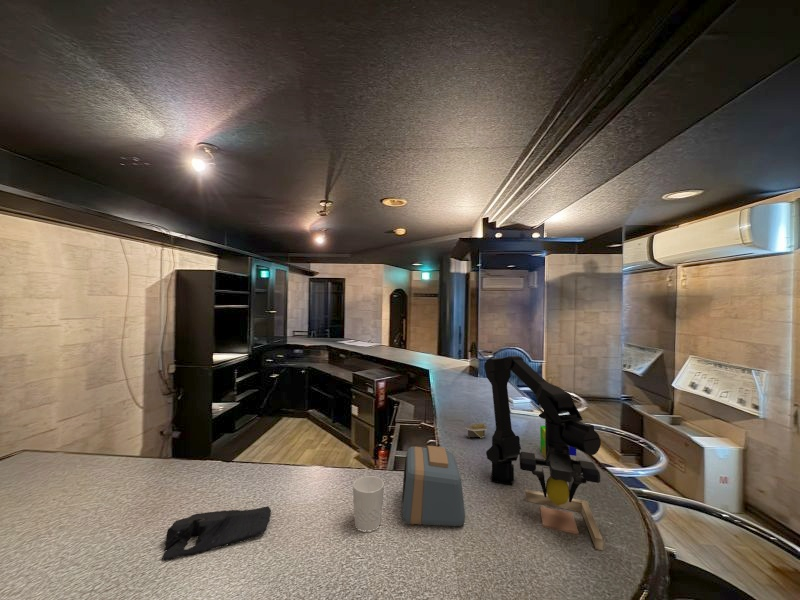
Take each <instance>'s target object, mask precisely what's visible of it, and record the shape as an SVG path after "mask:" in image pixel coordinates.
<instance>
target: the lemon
mask: <svg viewBox="0 0 800 600" xmlns="http://www.w3.org/2000/svg"><path fill="white" fill-rule="evenodd" d="M545 486H546V493H547V495H548V497H549V499H550V500H551V501H552V502H554V503H555V504H556V505H557V506H559V505H562V504H565V503H566V502H567V501H568V498H569V483H568V482H566V481H563V480H554V479H552V478H551V476H550V475H549V476H548V478H547V480H546V482H545Z"/></svg>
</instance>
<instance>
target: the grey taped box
mask: <svg viewBox="0 0 800 600" xmlns="http://www.w3.org/2000/svg"><path fill="white" fill-rule="evenodd" d="M402 484H403V485H402V506H401V507H402V509H401V510H402V511H401V515H402V520H403V522H405V524H407V523H409V524H408V525H414V524H420V525H421V524H424V525H423V526H440V525H442V526H443V527H444V526H445V527H461V526H462V525H464V523H465V520H466V511H465V501H464V494H463V484H462V478H461V473H460V469H459V467H458V464H457V460H456V458H455V455H454V454H453V453H452V452H451V451H450V450H446V449H445V447H444V446H435V445H427V447H420V446H410V447H409V448H407V452H406V455H405V461H404V470H403V483H402Z"/></svg>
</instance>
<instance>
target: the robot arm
mask: <svg viewBox="0 0 800 600" xmlns="http://www.w3.org/2000/svg"><path fill="white" fill-rule="evenodd" d="M484 372H485V376H486V378H487V380H488V381H489V383H490V384H491V389H492V390H491V391H492V400H493V411H494V421H495V422H494V423H495V430H494V433H493V435H492V438H491V447H489V448H488V449H487V450H486V451H485V453H486V459H487V460H488V461H490V462H491V478H490V480H491V482H493V483H499V484H504V485H510V486H512V485H513V482H514V481H515V478H514V477H515V476H514V475H515V470H514V469H515V468H514V467H515V466H514V464H513V463H512V462H514V461H517V460H518V457H519V468H520V470H521V471H526V472H531V474H533V475H534V476H536V478H537V479H538V481H539V483H540V487H541V489H542V493H544V496H545V497H546V493H547V492H546V479H545V478H546V477H545V473H544V468H545V469H548V470H549V474H550V475H549V477H550V476H551V478H552V479H554V480H563V481H566V482H567V483H568V487H569V502H571V501H572V499H574V496H575V494H576V491H577V489H578V487H579V486H580V485H582V484H587V482H591V483H597V484H599V483H601V474H600V470H599V469H598V467H597V465H596V464H595V463H594V462H592V461H586V460H579V459H578V460H577V459H576V460H573V459H571V458H570V455H569V446H571V447H573V448H575V449H576V450H578V451H579V452H582V453H584V454H586V455H589V456H594V455H596V454H597V453H598V452H599V451H600V448H601V443H602V439H601V438H600V435H599V433H598V431H596V430H595V426H594V424H590V423H587V422H583V417H582V415H581V413H580V411H579V409H578V408H577V407H576V406H577V405H576V404H575V402H574V401H573V397H572V395H571V394H570V393H569V392H567V391H566V390H564V389H562V388H561V387H560V386H557V385H554V384H552V383H550V382H548V381H547V380H545V378H543V377H542V376H541V375H540V374H539V373H538V372H537V371H536V370H534V369H533V367H531V366H530V365H529V364H527V362H526V361H524V359H523V357H521V356H520V355H507V356H506V357H505V356H504V357H496V358H495V357H494V358H487V359H486V360H485V362H484ZM512 373H513V374H514V375H515V376H516V377H517V378H518V379H519V380H520V381H521V382H522V383H524V385H525V386H526V387H528V389H530V391H531V392H533V394H534V395H535V398H536V402H537V403H538V404H539V406H540V407H541V409H542V410H543V412H541V413H540V414H538V417H539V418H540V419H543V420H545V421H544V422H545V423H544V424H545V425H544V426H545V457H544V458H545V459H543V458H536V456H535V453H533V452H528V451H521V449H522V448H521V443H520V441H521V440H520V439H521V438H520V436H519V435H516V433H515V432H514V431H513V428H512V419H511V411H510V410H511V408H510V400H509V392H508V383H509V380H510V378H511V375H512Z"/></svg>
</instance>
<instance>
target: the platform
mask: <svg viewBox="0 0 800 600" xmlns="http://www.w3.org/2000/svg"><path fill="white" fill-rule="evenodd" d="M464 428H465V429H466V430H467V438H468V437H480V439H481V438H483V437H482V436H485V431H488V427H487V426H486V425H485V423H471V426H465V427H464Z"/></svg>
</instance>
